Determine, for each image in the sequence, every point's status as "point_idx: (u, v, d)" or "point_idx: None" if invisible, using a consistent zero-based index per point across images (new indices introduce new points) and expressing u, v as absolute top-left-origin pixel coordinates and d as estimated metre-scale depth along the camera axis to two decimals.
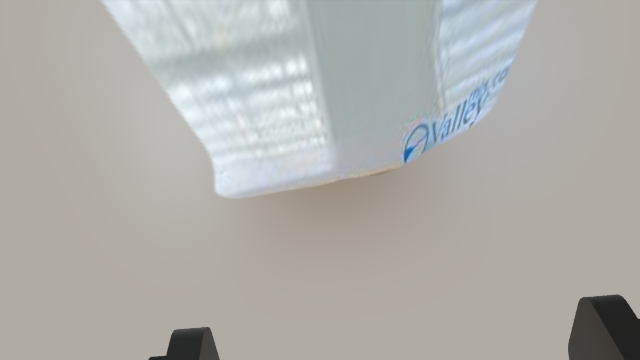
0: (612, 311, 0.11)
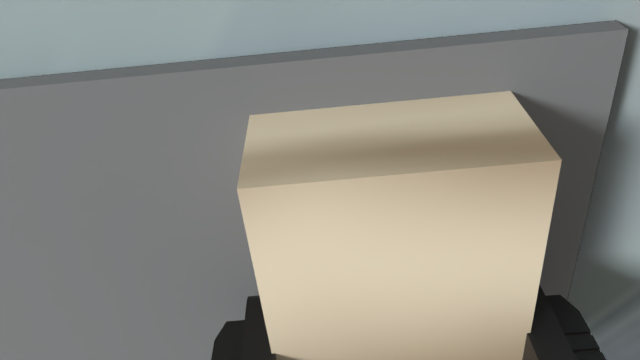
0: None
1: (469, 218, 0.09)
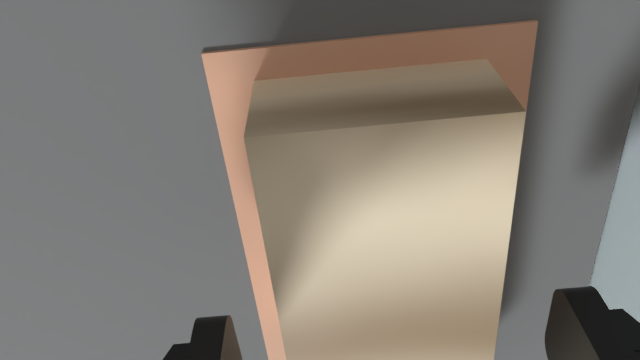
0: (584, 302, 0.11)
1: (446, 165, 0.10)
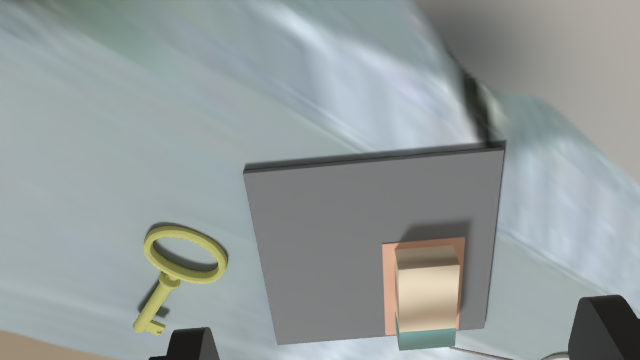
0: (612, 311, 0.11)
1: (442, 274, 0.45)
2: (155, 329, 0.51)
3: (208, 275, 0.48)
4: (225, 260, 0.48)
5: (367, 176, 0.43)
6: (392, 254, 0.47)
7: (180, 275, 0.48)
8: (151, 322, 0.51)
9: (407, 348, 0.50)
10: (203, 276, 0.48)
